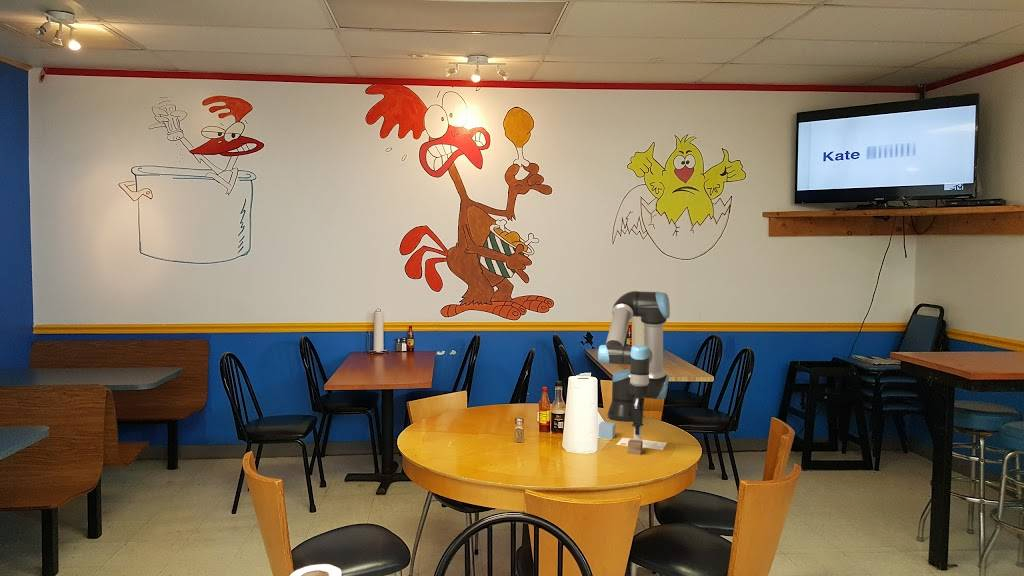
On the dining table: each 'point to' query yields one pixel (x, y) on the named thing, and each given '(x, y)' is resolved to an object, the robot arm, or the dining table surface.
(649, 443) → the letter mat
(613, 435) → the blue cube
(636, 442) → the walnut block
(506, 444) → the dining table surface
